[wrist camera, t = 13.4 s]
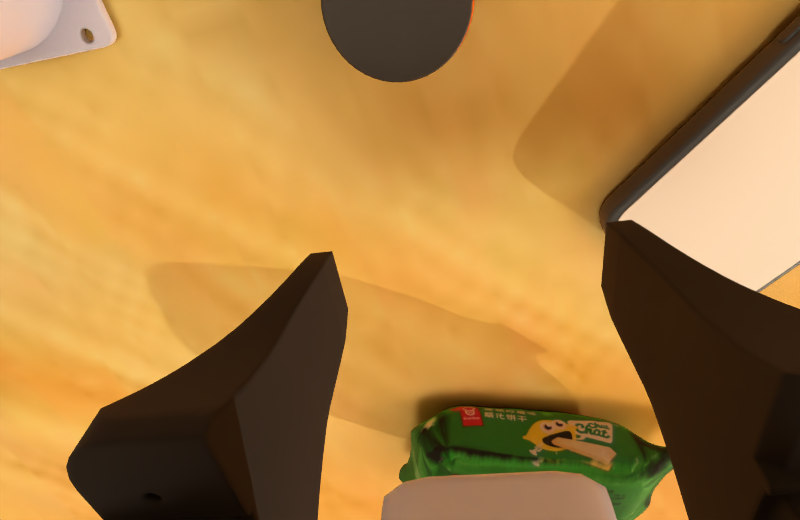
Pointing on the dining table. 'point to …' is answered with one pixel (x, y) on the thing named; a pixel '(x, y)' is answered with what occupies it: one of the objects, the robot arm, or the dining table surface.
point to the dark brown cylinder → (397, 34)
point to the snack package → (539, 450)
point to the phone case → (730, 174)
